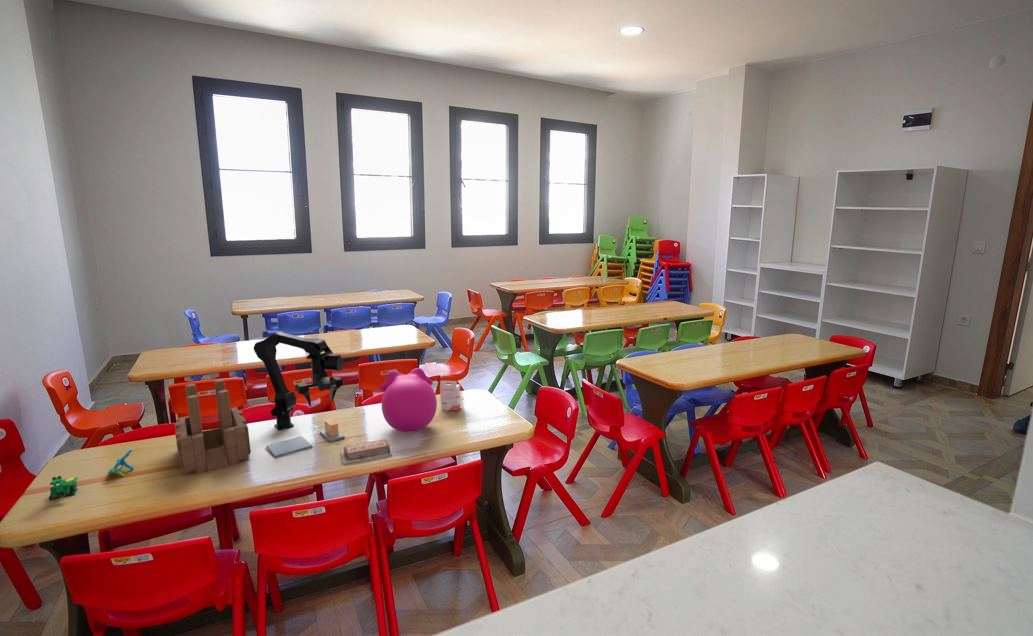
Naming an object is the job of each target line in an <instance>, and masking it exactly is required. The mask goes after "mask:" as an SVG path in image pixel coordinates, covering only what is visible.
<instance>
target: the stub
mask: <svg viewBox="0 0 1033 636" xmlns="http://www.w3.org/2000/svg"><path fill="white" fill-rule="evenodd" d="M319 434H320V435H322V436H323V437H324V438H325V439H326V440H327V441H329V442H330V443H333V442H337V441H340V440H343V438H344V439H345V438H346V436H345V435H344V434H343V433H341V432H340V430H339V423H337V422H336V421H335V420H334V419H333V418H329V419H326V420H324V429H322V430H319Z"/></svg>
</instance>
